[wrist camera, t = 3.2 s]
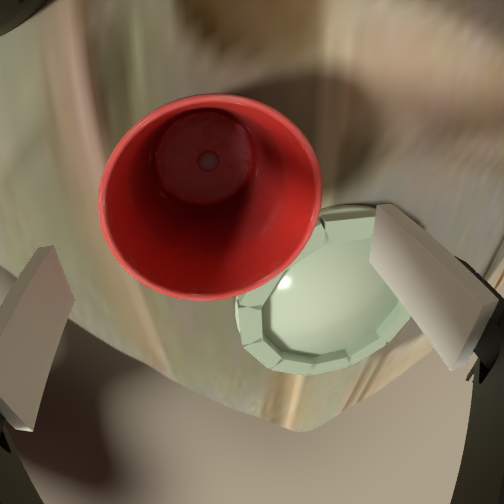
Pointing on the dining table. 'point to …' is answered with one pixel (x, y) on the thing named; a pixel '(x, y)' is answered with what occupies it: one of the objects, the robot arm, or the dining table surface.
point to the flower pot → (210, 196)
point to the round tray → (323, 301)
